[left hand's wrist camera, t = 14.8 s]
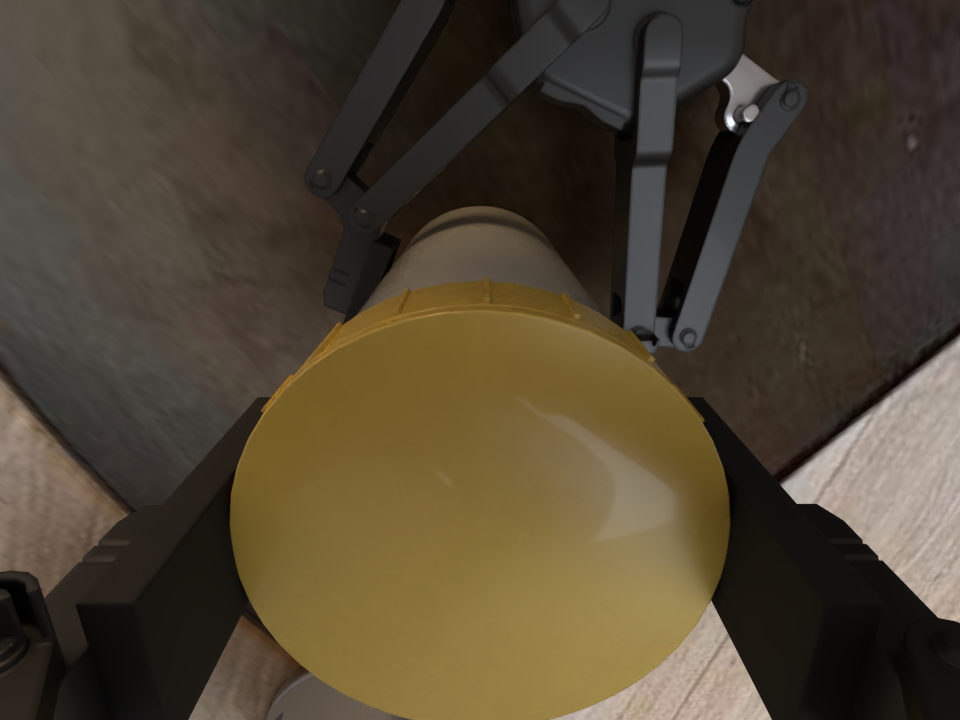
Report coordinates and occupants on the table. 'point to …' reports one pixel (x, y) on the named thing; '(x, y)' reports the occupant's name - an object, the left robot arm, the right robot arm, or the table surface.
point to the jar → (479, 256)
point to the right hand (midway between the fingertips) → (437, 424)
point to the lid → (480, 507)
